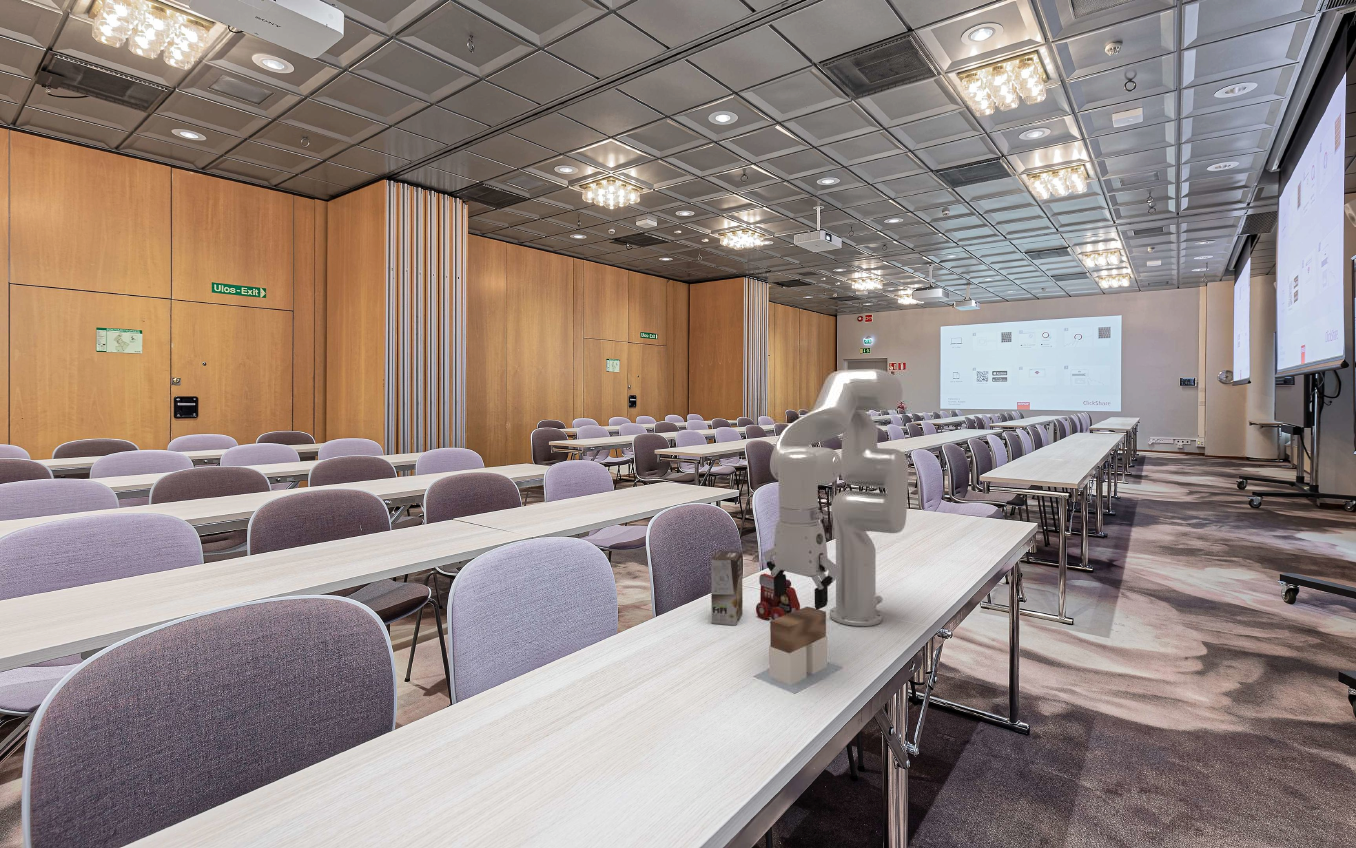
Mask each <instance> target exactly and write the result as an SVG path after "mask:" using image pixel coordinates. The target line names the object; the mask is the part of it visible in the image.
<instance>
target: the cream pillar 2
mask: <svg viewBox="0 0 1356 848" xmlns="http://www.w3.org/2000/svg"><path fill="white" fill-rule="evenodd" d="M827 662H828V636H826V637H824V638H822V639H819V640H817V641H815V642H813V643H811V644H809V645H807V646H806V672H808V673H811V674H814V673H816V672H818V671H820V670H822V669H823V668H825V667H827Z"/></svg>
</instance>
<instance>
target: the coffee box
mask: <svg viewBox="0 0 1356 848" xmlns="http://www.w3.org/2000/svg"><path fill="white" fill-rule="evenodd" d="M710 562H711V563H710V564H711V567H710V569H711V571H710V572H711V578H710V581H711V583H710V584H711V587H710V588H711V590H710V591H711V595H710V596H711V600H710V601H711V624H714V625H715V624H716V625H727V626H737V624H738V622H739V620H740V619H741V617H742V615H743V611H744V610H743V609H744V608H743V598H744V597H743V551H735V550H718V551H717V552H716V553H715V554H714V555H713V556H712V557H711V558H710Z"/></svg>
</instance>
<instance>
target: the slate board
mask: <svg viewBox="0 0 1356 848" xmlns="http://www.w3.org/2000/svg"><path fill="white" fill-rule="evenodd" d="M843 668H844V666H841V665H838V664H835V663H833V662H829V661H827V667H825V668H823V669H822V670H820V671H818V672H816V673H814V674H811V673H808V672H806V678H804V679H802V680H800V681H798V682H797V683H795V684H793V685H791V686H790V685H788V684H785V683H783V682H780V681H778V680H776V679H773V678H771V677H769V668H767V669H765V670H762V671H760V672H758V673H756V674H755V675H752V677H754V678H756V679H758V680H761V681H763V682H766V683H768V684H770V685H773V686H774V687H777V688H780V689H782V690H784V691H787V692H790V693H792V694H795V695H796V694H798V693H799V692H801V691H803V690H805V689H807V688H809V687H811V686H812V685H814V684H816V683H817V682H820V681H822V680H823V679H825V678H828V677H829V676H831V675H833V674H835V673H837V672H838V671H840V670H842V669H843Z"/></svg>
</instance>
